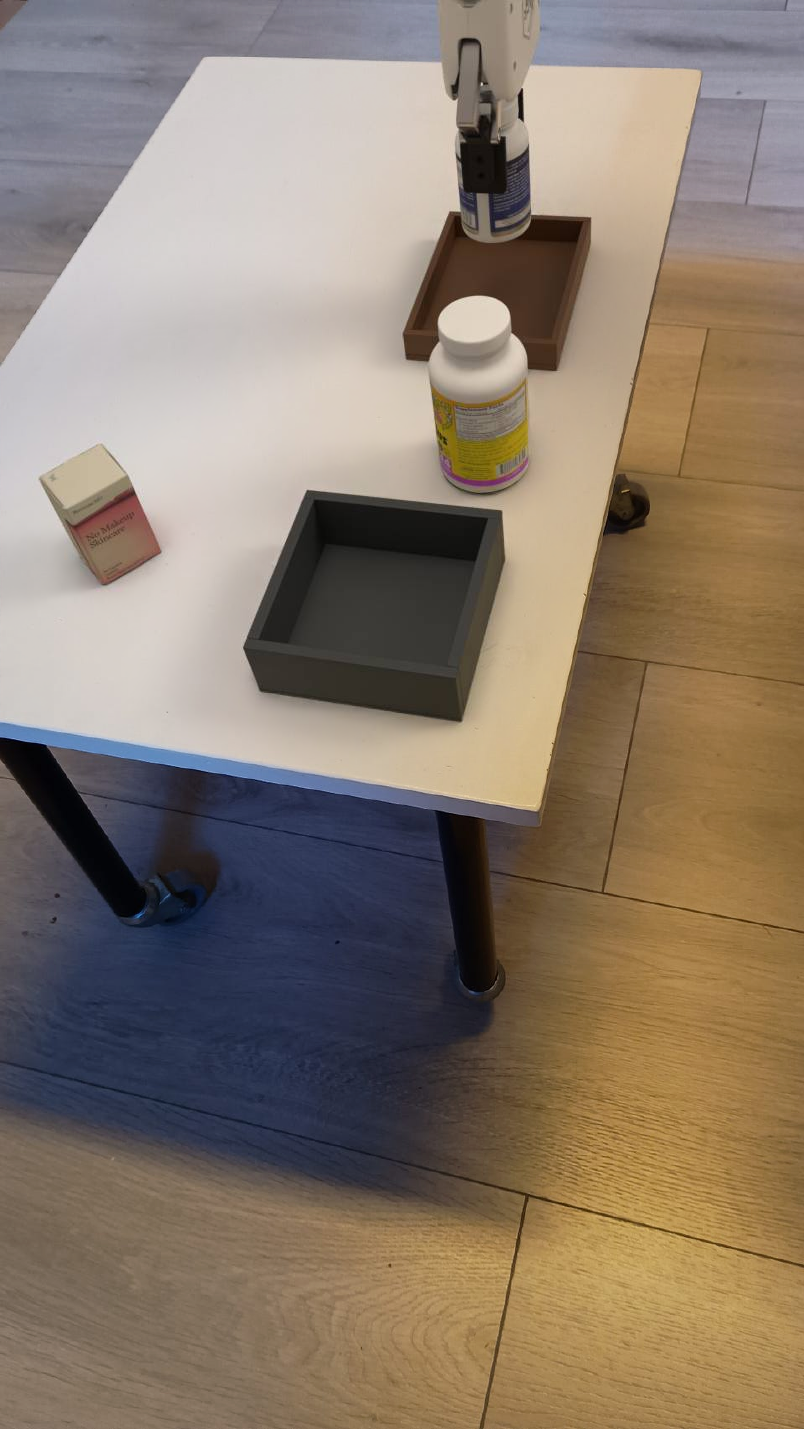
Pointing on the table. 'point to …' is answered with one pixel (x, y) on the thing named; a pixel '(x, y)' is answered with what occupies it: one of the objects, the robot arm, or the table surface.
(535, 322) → the tray
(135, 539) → the small box
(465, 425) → the supplement bottle
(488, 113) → the pill bottle
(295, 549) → the dark grey open box
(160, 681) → the table surface
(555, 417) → the table surface
